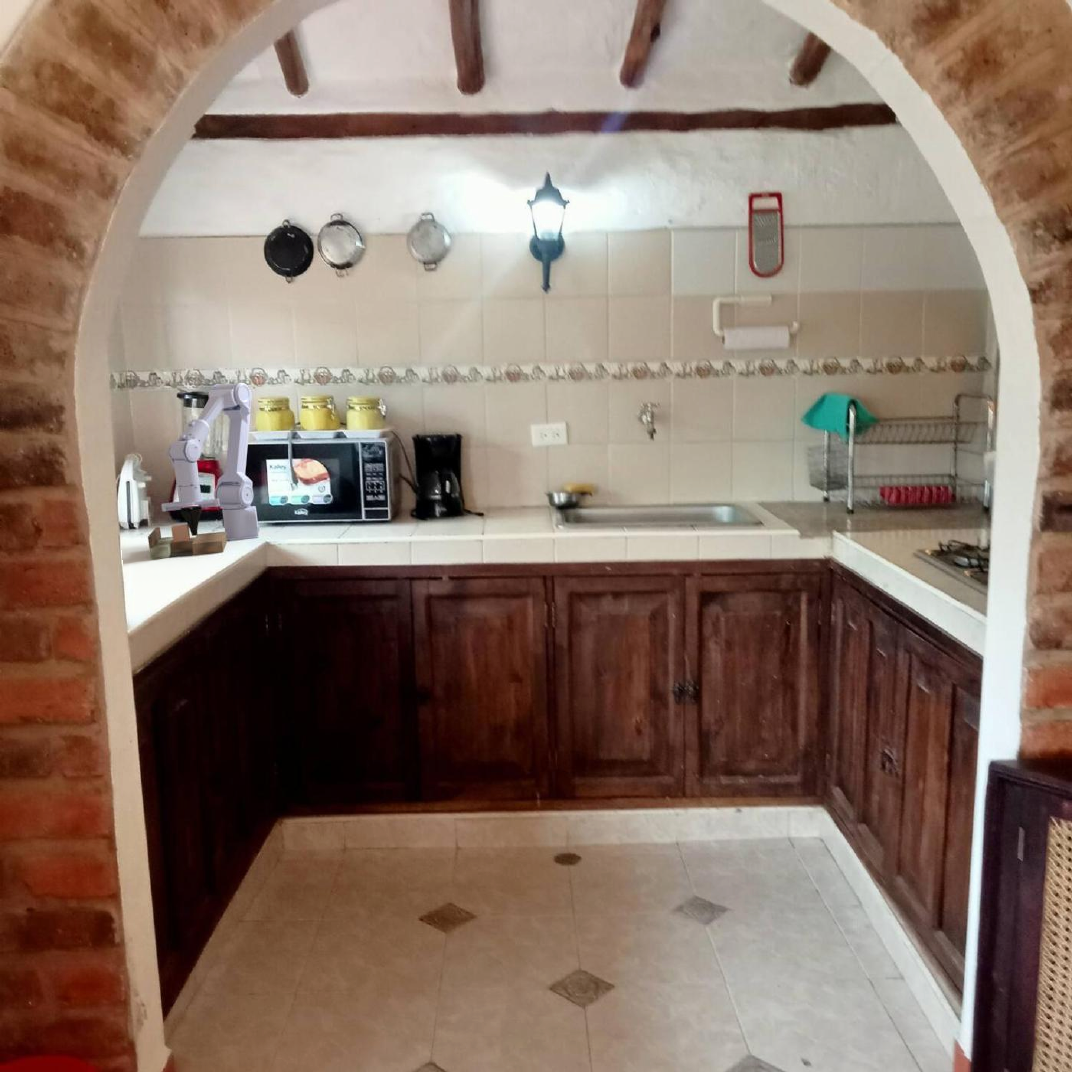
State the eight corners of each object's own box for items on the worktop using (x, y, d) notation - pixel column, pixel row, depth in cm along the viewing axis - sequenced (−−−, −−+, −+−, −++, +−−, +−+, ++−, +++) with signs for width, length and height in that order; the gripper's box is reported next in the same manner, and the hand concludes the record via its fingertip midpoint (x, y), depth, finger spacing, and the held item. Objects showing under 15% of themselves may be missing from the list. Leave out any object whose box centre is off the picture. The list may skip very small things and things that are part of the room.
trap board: (226, 541, 264) (224, 520, 263) (223, 552, 249) (220, 529, 248) (158, 548, 260) (155, 527, 259) (150, 559, 245) (147, 536, 244)
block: (190, 538, 256) (188, 523, 255) (189, 540, 252) (187, 525, 252) (174, 539, 255) (172, 525, 254) (173, 542, 251) (171, 527, 251)
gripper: (157, 489, 246) (164, 540, 249) (215, 484, 250) (221, 534, 252) (161, 486, 253) (167, 536, 255) (217, 481, 257) (223, 530, 259)
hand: (194, 535), depth 254 cm, fingers closed
